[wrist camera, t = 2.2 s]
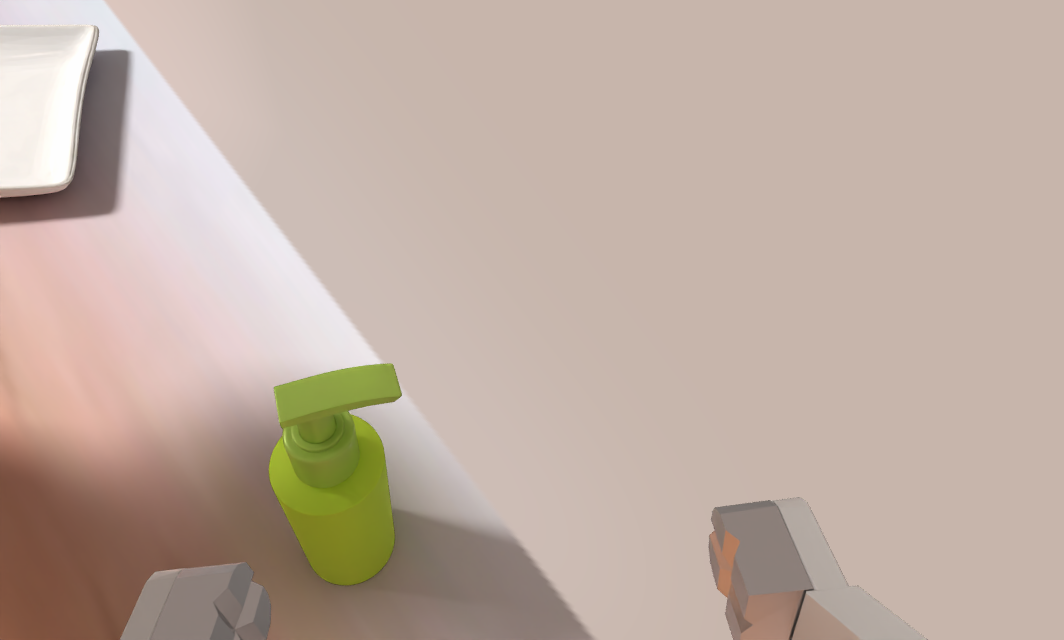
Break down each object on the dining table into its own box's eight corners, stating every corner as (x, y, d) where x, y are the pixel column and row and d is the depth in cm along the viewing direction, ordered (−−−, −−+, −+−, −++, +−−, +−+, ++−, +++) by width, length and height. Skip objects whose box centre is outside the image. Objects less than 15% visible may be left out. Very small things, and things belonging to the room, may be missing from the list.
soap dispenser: (418, 563, 44) (413, 428, 28) (314, 598, 42) (244, 473, 26) (398, 485, 47) (382, 324, 31) (300, 514, 45) (230, 356, 29)
